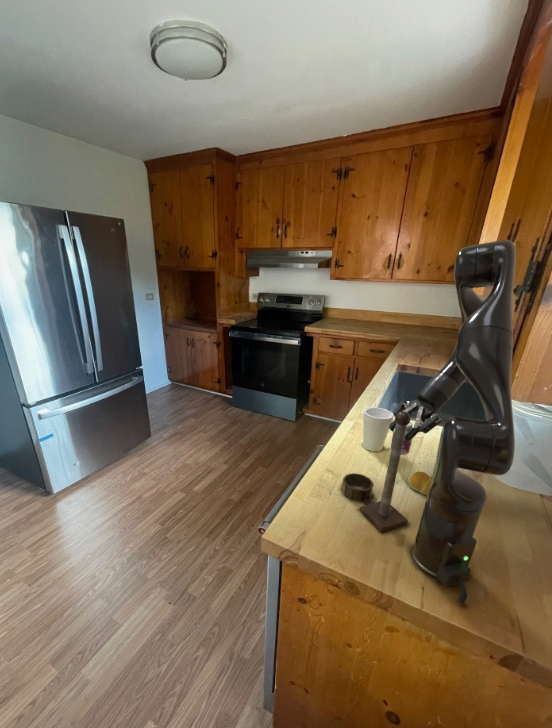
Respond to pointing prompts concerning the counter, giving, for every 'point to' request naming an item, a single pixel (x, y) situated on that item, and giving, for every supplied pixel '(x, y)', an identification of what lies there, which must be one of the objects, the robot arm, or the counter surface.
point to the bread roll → (420, 482)
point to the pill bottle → (405, 441)
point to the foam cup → (376, 427)
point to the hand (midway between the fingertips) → (398, 434)
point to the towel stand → (382, 511)
